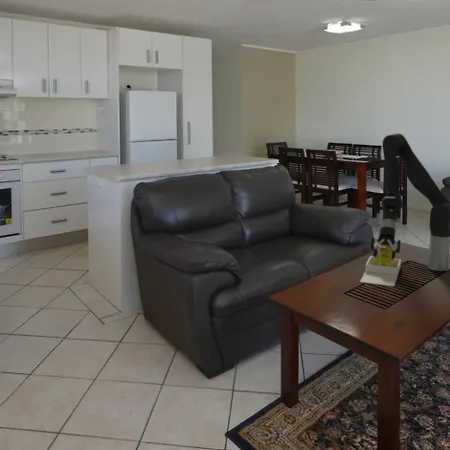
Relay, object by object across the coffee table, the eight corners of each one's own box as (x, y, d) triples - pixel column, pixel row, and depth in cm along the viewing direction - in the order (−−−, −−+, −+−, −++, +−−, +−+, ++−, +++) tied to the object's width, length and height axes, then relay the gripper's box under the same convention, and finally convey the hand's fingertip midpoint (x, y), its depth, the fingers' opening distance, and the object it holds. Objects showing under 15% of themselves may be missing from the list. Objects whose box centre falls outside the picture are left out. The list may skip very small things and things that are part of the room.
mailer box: (400, 266, 239) (401, 259, 238) (393, 286, 212) (394, 278, 211) (370, 263, 245) (370, 256, 244) (359, 282, 218) (360, 274, 217)
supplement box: (391, 269, 232) (392, 247, 229) (379, 269, 232) (380, 247, 229) (387, 265, 238) (388, 244, 235) (375, 265, 238) (376, 244, 235)
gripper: (372, 224, 240) (368, 252, 233) (402, 227, 234) (398, 256, 227) (373, 232, 246) (369, 260, 238) (402, 235, 240) (399, 263, 232)
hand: (383, 258), depth 232 cm, fingers closed on supplement box, 7 cm apart
